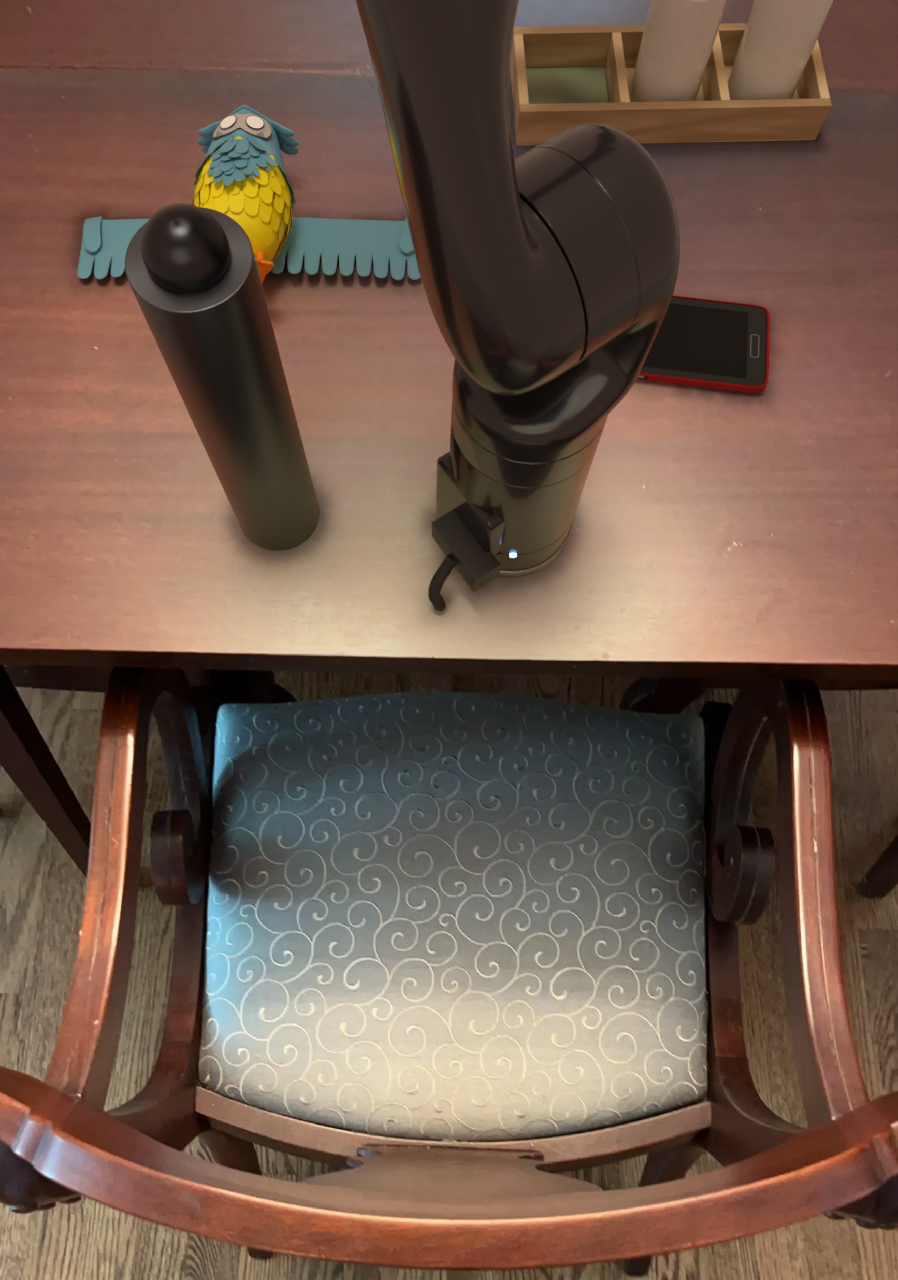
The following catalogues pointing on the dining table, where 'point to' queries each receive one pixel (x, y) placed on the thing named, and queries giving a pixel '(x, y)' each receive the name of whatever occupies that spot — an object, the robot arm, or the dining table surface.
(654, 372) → the cell phone
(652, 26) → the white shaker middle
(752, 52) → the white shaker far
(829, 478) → the dining table surface
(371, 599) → the dining table surface
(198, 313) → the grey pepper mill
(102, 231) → the owl figurine
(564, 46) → the spice rack
